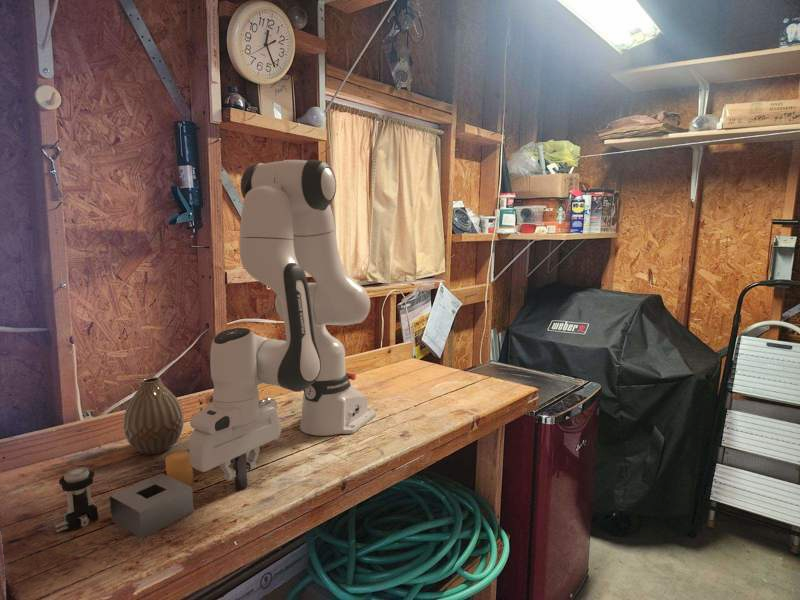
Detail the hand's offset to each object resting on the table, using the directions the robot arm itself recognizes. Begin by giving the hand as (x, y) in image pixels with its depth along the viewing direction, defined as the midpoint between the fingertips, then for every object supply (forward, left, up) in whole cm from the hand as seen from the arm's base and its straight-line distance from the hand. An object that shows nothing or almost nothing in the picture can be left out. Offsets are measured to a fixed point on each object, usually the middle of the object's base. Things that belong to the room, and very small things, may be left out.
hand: (240, 473), depth 102 cm
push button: (+25, -14, -3) cm, 29 cm away
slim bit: (0, 0, -3) cm, 3 cm away
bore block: (+16, -5, -3) cm, 17 cm away
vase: (-1, -33, -3) cm, 33 cm away
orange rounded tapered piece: (+6, -12, -3) cm, 14 cm away
